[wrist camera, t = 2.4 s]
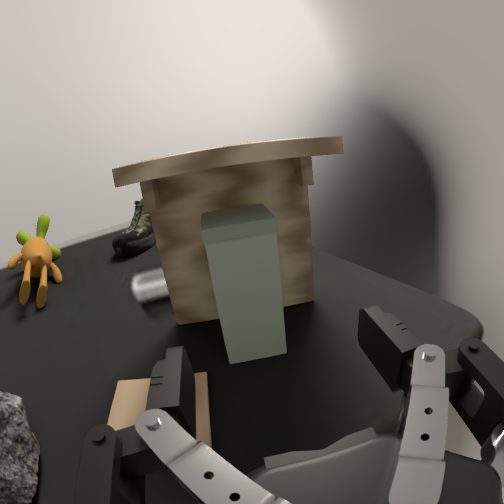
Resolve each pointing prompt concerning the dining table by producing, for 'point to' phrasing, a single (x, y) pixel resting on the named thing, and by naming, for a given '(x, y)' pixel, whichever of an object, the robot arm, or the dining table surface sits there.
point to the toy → (36, 261)
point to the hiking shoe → (136, 234)
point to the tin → (246, 280)
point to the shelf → (225, 197)
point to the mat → (135, 398)
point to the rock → (16, 452)
